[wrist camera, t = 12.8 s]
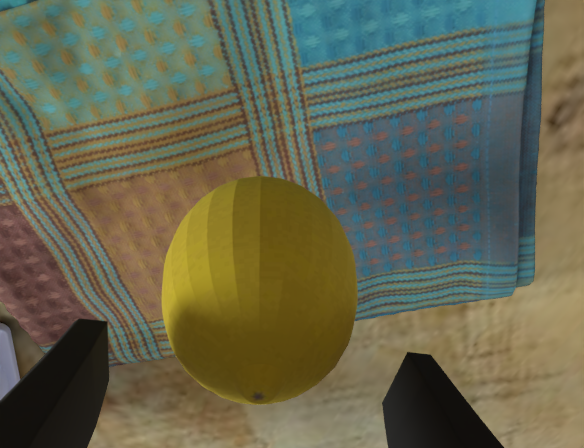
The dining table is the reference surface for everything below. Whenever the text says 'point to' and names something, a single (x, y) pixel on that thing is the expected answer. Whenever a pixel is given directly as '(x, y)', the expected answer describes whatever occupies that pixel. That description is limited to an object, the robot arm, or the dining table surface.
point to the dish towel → (263, 145)
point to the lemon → (259, 290)
